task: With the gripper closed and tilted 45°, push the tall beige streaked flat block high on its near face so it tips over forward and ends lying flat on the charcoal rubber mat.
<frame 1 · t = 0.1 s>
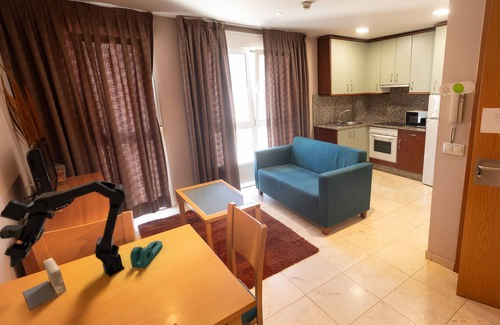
hand: (17, 259, 99), 15 cm above the table, tool tilted 35°, fingers open, 9 cm apart
bracket: (149, 255, 122), on the table
beige streaked flat block: (57, 285, 105), on the table
charcoal rubber mat: (39, 294, 101), on the table
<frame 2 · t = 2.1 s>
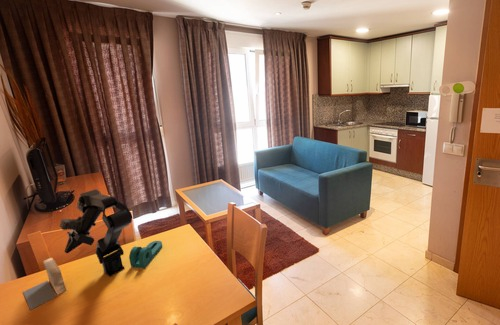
hand: (65, 252, 106), 13 cm above the table, tool tilted 45°, fingers closed
nothing on the table moved.
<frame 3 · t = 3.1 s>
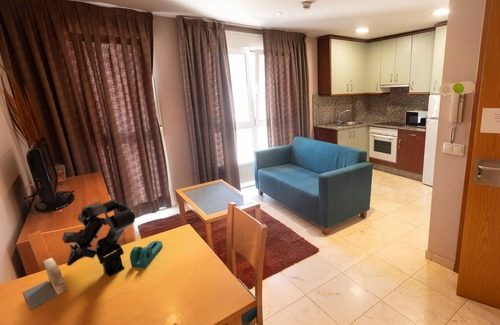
hand: (68, 265, 107), 7 cm above the table, tool tilted 45°, fingers closed
nothing on the table moved.
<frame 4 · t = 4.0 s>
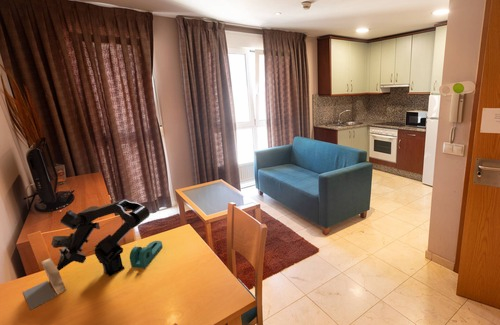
hand: (57, 270, 105), 7 cm above the table, tool tilted 45°, fingers closed
beige streaked flat block: (57, 285, 105), on the table, touching gripper
everything else where it was.
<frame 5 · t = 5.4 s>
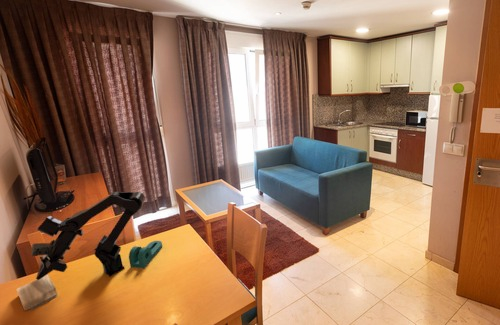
hand: (37, 279, 100), 7 cm above the table, tool tilted 45°, fingers closed
beige streaked flat block: (52, 284, 104), point 2 cm above the table, tilted 90°, touching charcoal rubber mat
everything else where it was.
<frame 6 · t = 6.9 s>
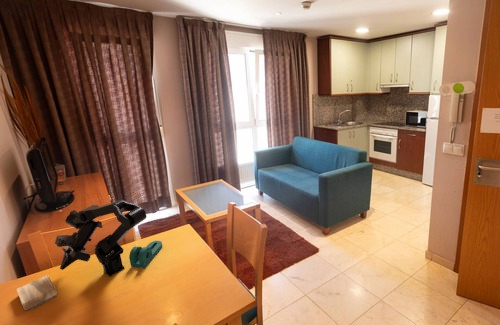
hand: (61, 269, 105), 7 cm above the table, tool tilted 45°, fingers closed
nothing on the table moved.
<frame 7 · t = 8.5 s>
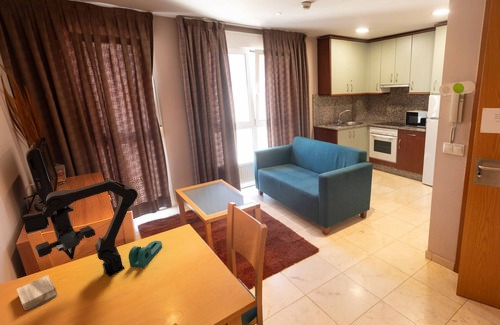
hand: (71, 258, 103), 12 cm above the table, tool pointing down, fingers closed
nothing on the table moved.
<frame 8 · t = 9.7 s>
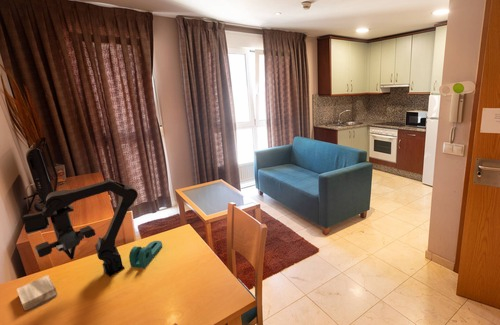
hand: (71, 258, 103), 12 cm above the table, tool pointing down, fingers closed
nothing on the table moved.
at the end: beige streaked flat block tilted 90°; beige streaked flat block inside the target area (2.1 cm from its centre), point 1.7 cm above the table; the gripper is holding nothing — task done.
